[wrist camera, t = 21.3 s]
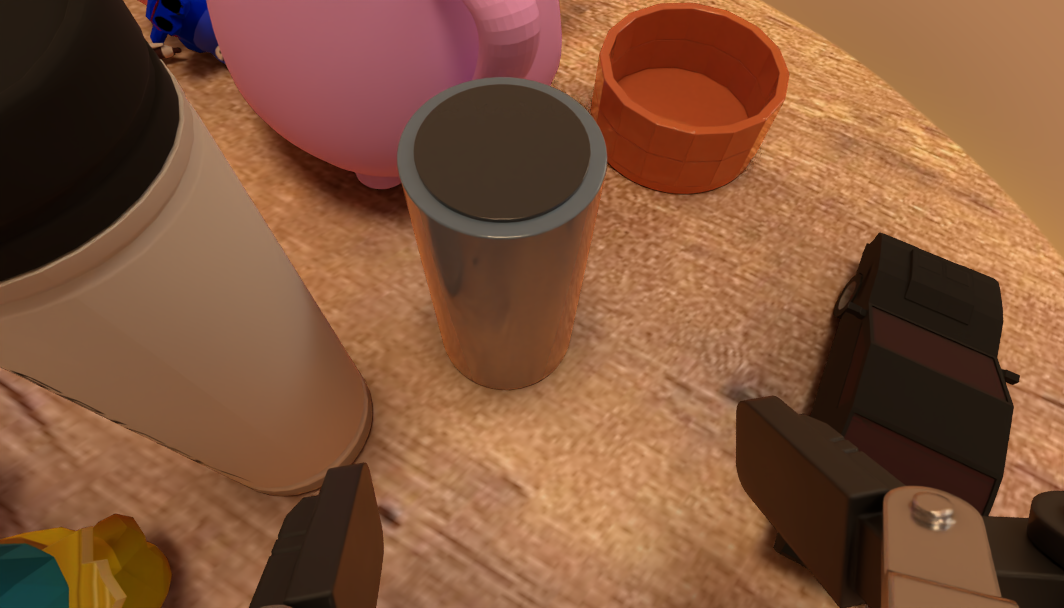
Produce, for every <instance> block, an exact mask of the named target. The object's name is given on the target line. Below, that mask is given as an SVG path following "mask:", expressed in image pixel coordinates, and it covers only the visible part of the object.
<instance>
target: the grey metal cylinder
mask: <svg viewBox="0 0 1064 608" xmlns="http://www.w3.org/2000/svg"><path fill="white" fill-rule="evenodd" d="M607 160H608V159H607V148H606V144H605V140H604V137H603V135H602V132H601V130H600V128H599V126H598V125H597V123H596V121H595V120H594V118H593V117H592V116H591V115H590V113H589V112H588V111H587V110H586V109H585V108H584V107H583V106H582V105H581V104H580V103H579V102H577V101H576V100H574V99H573V98H572V97H570V96H569V95H567V94H565V93H563V92H562V91H560V90H558V89H556V88H553V87H551V86H549V85H546V84H543V83H540V82H536V81H532V80H527V79H522V78H513V77H491V78H482V79H476V80H471V81H468V82H464V83H460V84H458V85H455V86H453V87H450V88H448V89H446V90H444V91H442V92H440V93H438V94H437V95H435V96H434V97H432V98H431V99H429V100H428V101H427V102H425V103H424V104H423V105H422V106H421V107H420V108H419V109H418V110H417V111H416V112H415V113H414V114H413V115H412V117H411V118H410V120H409V121H408V123H407V124H406V126H405V128H404V130H403V132H402V134H401V137H400V141H399V144H398V150H397V168H398V173H399V178H400V181H401V185H402V189H403V193H404V197H405V200H406V204H407V208H408V212H409V215H410V219H411V223H412V227H413V231H414V234H415V238H416V242H417V246H418V250H419V253H420V257H421V261H422V265H423V268H424V272H425V276H426V280H427V284H428V287H429V291H430V295H431V299H432V303H433V306H434V310H435V314H436V318H437V321H438V325H439V329H440V333H441V337H442V340H443V344H444V348H445V350H446V353H447V355H448V357H449V359H450V360H451V362H452V363H453V365H454V366H455V367H456V368H457V369H458V370H459V371H460V372H461V373H462V374H463V375H464V376H466V377H467V378H468V379H470V380H472V381H474V382H475V383H478V384H480V385H482V386H486V387H489V388H494V389H507V390H510V389H519V388H523V387H527V386H530V385H532V384H535V383H537V382H539V381H540V380H542V379H544V378H545V377H547V376H548V375H549V374H551V373H552V372H553V371H554V370H555V369H556V368H557V366H558V365H559V364H560V363H561V361H562V359H563V358H564V356H565V354H566V352H567V349H568V346H569V343H570V338H571V334H572V329H573V324H574V320H575V315H576V310H577V306H578V301H579V296H580V292H581V287H582V282H583V278H584V273H585V268H586V264H587V259H588V254H589V250H590V245H591V240H592V236H593V231H594V226H595V222H596V217H597V212H598V208H599V203H600V198H601V194H602V189H603V184H604V180H605V175H606V170H607Z"/></svg>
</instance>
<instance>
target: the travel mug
mask: <svg viewBox="0 0 1064 608" xmlns="http://www.w3.org/2000/svg"><path fill="white" fill-rule="evenodd" d="M0 367H1V368H3V369H5V370H8V371H10V372H12V373H14V374H16V375H18V376H20V377H22V378H24V379H26V380H28V381H30V382H32V383H34V384H36V385H39V386H41V387H43V388H45V389H47V390H49V391H51V392H53V393H55V394H57V395H59V396H61V397H63V398H65V399H67V400H70V401H72V402H74V403H76V404H78V405H80V406H82V407H84V408H86V409H88V410H90V411H92V412H94V413H96V414H98V415H101V416H103V417H105V418H107V419H109V420H111V421H113V422H115V423H117V424H119V425H121V426H123V427H125V428H127V429H129V430H132V431H134V432H136V433H138V434H140V435H142V436H144V437H146V438H148V439H150V440H152V441H154V442H156V443H158V444H160V445H162V446H165V447H167V448H169V449H171V450H173V451H175V452H177V453H179V454H181V455H183V456H185V457H187V458H189V459H191V460H193V461H196V462H198V463H200V464H202V465H204V466H206V467H208V468H210V469H212V470H214V471H216V472H218V473H220V474H222V475H224V476H227V477H229V478H231V479H233V480H235V481H237V482H240V483H241V484H243V485H245V486H247V487H249V488H251V489H253V490H256V491H259V492H262V493H265V494H268V495H278V496H289V495H299V494H303V493H306V492H309V491H313V490H316V489H318V488H320V487H322V484H323V481H324V478H325V475H326V473H327V470H328V469H329V468H334V467H340V466H347V465H351V464H352V463H353V461H354V460H355V459H356V457H357V456H358V454H359V453H360V451H361V450H362V448H363V446H364V444H365V442H366V439H367V437H368V435H369V431H370V427H371V422H372V401H371V396H370V392H369V389H368V387H367V385H366V383H365V380H364V379H363V377H362V376H361V374H360V372H359V371H358V369H357V368H356V366H355V364H354V363H353V361H352V360H351V358H350V356H349V355H348V353H347V352H346V350H345V348H344V347H343V345H342V344H341V342H340V340H339V339H338V337H337V336H336V334H335V332H334V331H333V329H332V328H331V326H330V324H329V323H328V321H327V320H326V318H325V316H324V315H323V313H322V312H321V310H320V308H319V307H318V305H317V304H316V302H315V300H314V299H313V297H312V296H311V294H310V292H309V291H308V289H307V288H306V286H305V284H304V283H303V281H302V280H301V278H300V276H299V275H298V273H297V272H296V270H295V268H294V267H293V265H292V264H291V262H290V260H289V259H288V257H287V256H286V254H285V252H284V251H283V249H282V248H281V246H280V244H279V243H278V241H277V240H276V238H275V236H274V235H273V233H272V232H271V230H270V228H269V227H268V225H267V224H266V222H265V220H264V219H263V217H262V216H261V214H260V212H259V211H258V209H257V208H256V206H255V204H254V203H253V201H252V200H251V198H250V196H249V195H248V193H247V192H246V190H245V188H244V187H243V185H242V184H241V182H240V180H239V179H238V177H237V176H236V174H235V172H234V171H233V169H232V168H231V166H230V164H229V163H228V161H227V160H226V158H225V156H224V155H223V153H222V152H221V150H220V148H219V147H218V145H217V144H216V142H215V140H214V139H213V137H212V136H211V134H210V132H209V131H208V129H207V128H206V126H205V124H204V123H203V121H202V120H201V118H200V116H199V115H198V113H197V112H196V110H195V109H194V108H193V106H192V105H191V104H190V102H189V101H188V100H187V98H186V96H185V93H184V91H183V89H182V88H181V86H180V84H179V83H178V81H177V80H176V78H175V77H174V75H173V74H172V73H171V71H170V70H169V69H168V68H167V66H166V65H165V64H164V62H163V61H162V60H161V59H160V58H159V57H158V55H157V54H156V52H155V51H154V50H153V48H152V47H151V46H150V45H149V43H148V42H147V41H146V40H145V38H144V36H143V34H142V31H141V28H140V27H139V25H138V24H137V22H136V20H135V19H134V17H133V16H132V14H131V12H130V11H129V9H128V8H127V6H126V5H125V3H124V1H123V0H0Z"/></svg>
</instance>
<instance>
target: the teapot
mask: <svg viewBox="0 0 1064 608" xmlns="http://www.w3.org/2000/svg"><path fill="white" fill-rule="evenodd" d="M206 2H207V7H208V11H209V15H210V19H211V22H212V26H213V30H214V33H215V36H216V39H217V42H218V45H219V48H220V51H221V54H222V56H223V58H224V61H225V63H226V66H227V68H228V70H229V72H230V74H231V76H232V78H233V80H234V82H235V84H236V86H237V88H238V89H239V91H240V93H241V94H242V96H243V97H244V99H245V100H246V101H247V103H248V104H249V105H250V106H251V107H252V109H253V110H254V111H255V112H256V113H257V114H258V115H259V116H260V117H261V118H262V119H263V120H264V121H265V122H266V123H267V124H268V125H269V126H270V127H272V128H273V129H274V130H275V131H276V132H277V133H278V134H280V135H281V136H282V137H284V138H285V139H287V140H288V141H289V142H291V143H292V144H294V145H295V146H297V147H299V148H300V149H302V150H304V151H306V152H307V153H309V154H311V155H313V156H315V157H317V158H319V159H321V160H324V161H326V162H328V163H330V164H332V165H335V166H337V167H339V168H342V169H345V170H348V171H352V172H355V173H356V176H357V178H358V180H359V181H360V182H361V183H363V184H364V185H366V186H368V187H370V188H374V189H388V188H392V187H395V186H397V185H399V184H400V183H401V181H400V178H399V173H398V168H397V150H398V144H399V141H400V137H401V134H402V132H403V130H404V128H405V126H406V124H407V123H408V121H409V120H410V118H411V117H412V115H413V114H414V113H415V112H416V111H417V110H418V109H419V108H420V107H421V106H422V105H423V104H424V103H425V102H427V101H428V100H429V99H431V98H432V97H434V96H435V95H437V94H438V93H440V92H442V91H444V90H446V89H448V88H450V87H453V86H455V85H458V84H460V83H464V82H468V81H471V80H476V79H482V78H491V77H513V78H522V79H527V80H532V81H536V82H540V83H543V84H546V85H549V86H550V85H551V82H552V80H553V78H554V76H555V74H556V72H557V69H558V67H559V62H560V57H561V44H562V32H561V18H560V6H559V0H206Z"/></svg>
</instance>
